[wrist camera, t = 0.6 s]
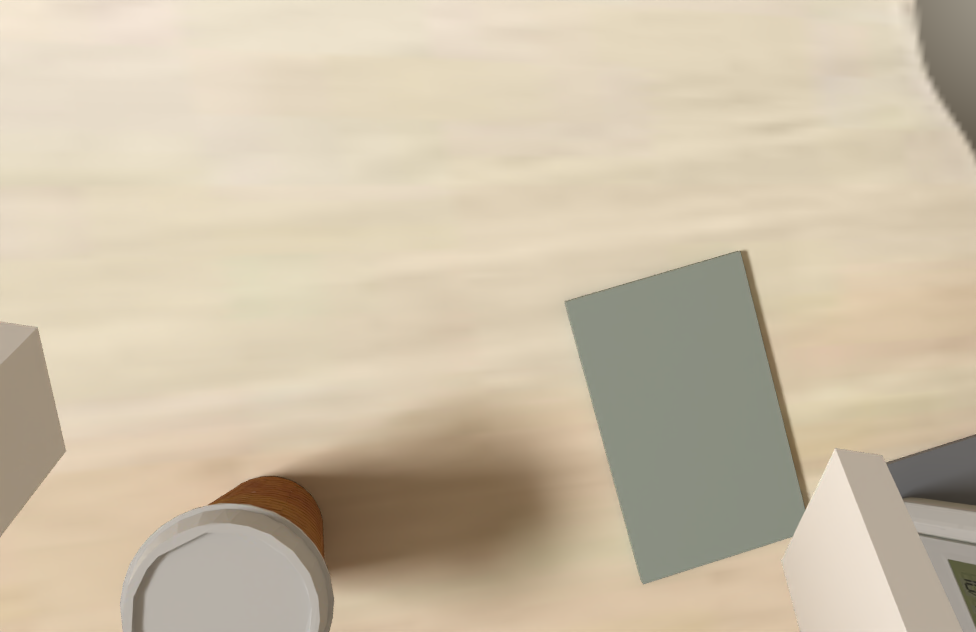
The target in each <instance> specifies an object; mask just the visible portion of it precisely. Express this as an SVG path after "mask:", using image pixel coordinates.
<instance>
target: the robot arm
mask: <svg viewBox="0 0 976 632" xmlns="http://www.w3.org/2000/svg"><path fill="white" fill-rule="evenodd" d="M65 452H66V449H65V445H64V440H63V436H62V432H61V427H60V423H59V418H58V414H57V410H56V405H55V401H54V397H53V392H52V388H51V384H50V379H49V375H48V370H47V366H46V362H45V357H44V353H43V349H42V344H41V340H40V335H39V331H38V327H32V326H26V325H19V324H13V323H6V322H0V537H1V535H2V534H3V533H4V531H5V530H6V529H7V527H8V526H9V525H10V523H11V522H12V521H13V520H14V518H15V517H16V516H17V514H18V513H19V512H20V510H21V509H22V508H23V507H24V505H25V504H26V503H27V501H28V500H29V499H30V497H31V496H32V495H33V493H34V492H35V491H36V490H37V488H38V487H39V486H40V484H41V483H42V482H43V480H44V479H45V478H46V476H47V475H48V474H49V473H50V471H51V470H52V469H53V467H54V466H55V465H56V463H57V462H58V461H59V459H60V458H61V457H62V456H63V454H64V453H65ZM781 562H782V566H783V569H784V573H785V577H786V581H787V584H788V588H789V592H790V596H791V600H792V603H793V607H794V611H795V615H796V619H797V622H798V626H799V630H800V632H963V631H962V629H961V627H960V624H959V622H958V620H957V618H956V616H955V613H954V611H953V609H952V607H951V605H950V602H949V600H948V598H947V596H946V594H945V591H944V589H943V587H942V585H941V583H940V581H939V578H938V576H937V574H936V572H935V570H934V567H933V565H932V563H931V561H930V559H929V556H928V554H927V552H926V550H925V548H924V545H923V543H922V541H921V539H920V537H919V534H918V532H917V530H916V528H915V526H914V524H913V521H912V519H911V517H910V515H909V513H908V510H907V508H906V506H905V504H904V502H903V499H902V497H901V495H900V493H899V491H898V488H897V486H896V484H895V482H894V480H893V478H892V475H891V473H890V471H889V469H888V467H887V464H886V462H885V460H884V458H883V456H882V455H877V454H870V453H864V452H857V451H851V450H844V449H837V448H835V450H834V452H833V454H832V456H831V458H830V460H829V462H828V464H827V466H826V469H825V471H824V473H823V475H822V477H821V479H820V481H819V483H818V485H817V487H816V489H815V491H814V493H813V495H812V498H811V500H810V502H809V504H808V506H807V508H806V510H805V512H804V514H803V516H802V518H801V520H800V522H799V525H798V527H797V529H796V531H795V533H794V535H793V537H792V539H791V541H790V543H789V545H788V547H787V549H786V551H785V554H784V556H783V558H782V560H781Z"/></svg>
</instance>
